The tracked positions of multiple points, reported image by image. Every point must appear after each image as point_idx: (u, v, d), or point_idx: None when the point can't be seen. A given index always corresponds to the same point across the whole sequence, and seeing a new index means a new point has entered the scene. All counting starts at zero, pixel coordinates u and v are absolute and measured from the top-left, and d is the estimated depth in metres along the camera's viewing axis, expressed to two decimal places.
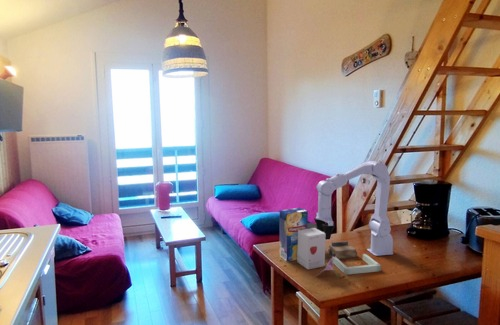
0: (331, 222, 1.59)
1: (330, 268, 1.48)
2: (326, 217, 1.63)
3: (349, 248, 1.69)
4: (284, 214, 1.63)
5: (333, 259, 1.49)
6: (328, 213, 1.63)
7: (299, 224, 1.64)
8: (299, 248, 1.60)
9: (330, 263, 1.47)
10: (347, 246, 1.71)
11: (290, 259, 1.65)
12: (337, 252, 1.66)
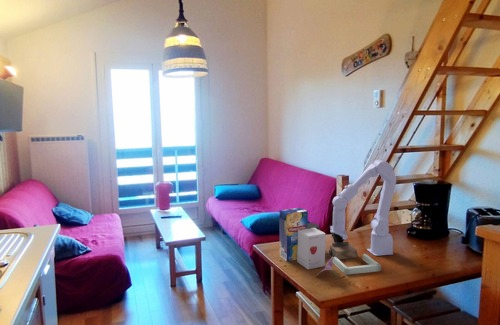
0: (345, 236, 1.67)
1: (330, 268, 1.48)
2: (340, 231, 1.71)
3: (350, 249, 1.68)
4: (284, 214, 1.63)
5: (332, 259, 1.48)
6: (342, 227, 1.71)
7: (299, 224, 1.64)
8: (299, 248, 1.60)
9: (329, 263, 1.47)
10: (348, 247, 1.70)
11: (290, 259, 1.65)
12: (337, 253, 1.66)
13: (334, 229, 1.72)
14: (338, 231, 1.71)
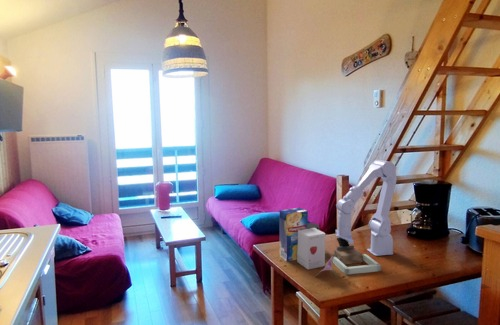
0: (351, 240, 1.61)
1: (329, 268, 1.48)
2: (346, 235, 1.65)
3: (355, 253, 1.62)
4: (284, 214, 1.63)
5: (332, 259, 1.48)
6: (348, 231, 1.65)
7: (299, 224, 1.64)
8: (299, 248, 1.60)
9: (329, 263, 1.47)
10: (353, 251, 1.64)
11: (290, 259, 1.65)
12: (343, 257, 1.60)
13: (339, 233, 1.66)
14: (344, 235, 1.65)
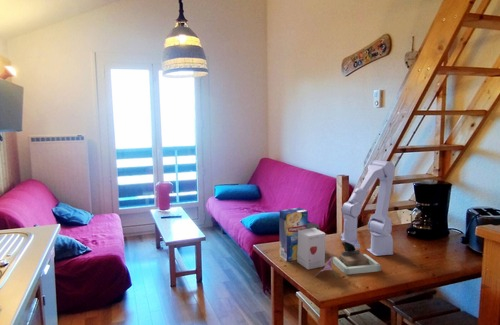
0: (358, 245, 1.56)
1: (329, 268, 1.48)
2: (352, 239, 1.60)
3: (361, 258, 1.57)
4: (284, 214, 1.63)
5: None
6: (354, 235, 1.60)
7: (299, 224, 1.64)
8: (299, 248, 1.60)
9: (329, 263, 1.47)
10: (359, 256, 1.59)
11: (290, 259, 1.65)
12: (348, 262, 1.54)
13: (345, 237, 1.61)
14: (349, 239, 1.60)
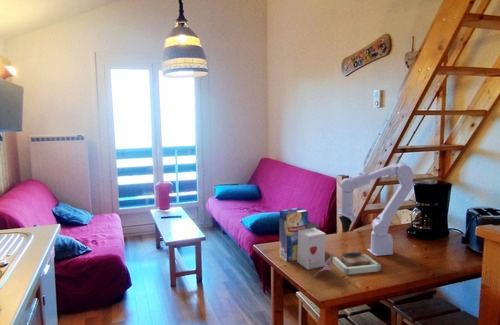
0: (354, 218, 1.67)
1: (328, 269, 1.48)
2: (348, 213, 1.71)
3: (363, 260, 1.56)
4: (284, 214, 1.63)
5: (330, 259, 1.48)
6: (350, 209, 1.71)
7: (299, 224, 1.64)
8: (299, 248, 1.60)
9: (327, 263, 1.47)
10: (360, 257, 1.58)
11: (290, 259, 1.65)
12: (350, 264, 1.53)
13: (342, 211, 1.72)
14: (346, 213, 1.71)
